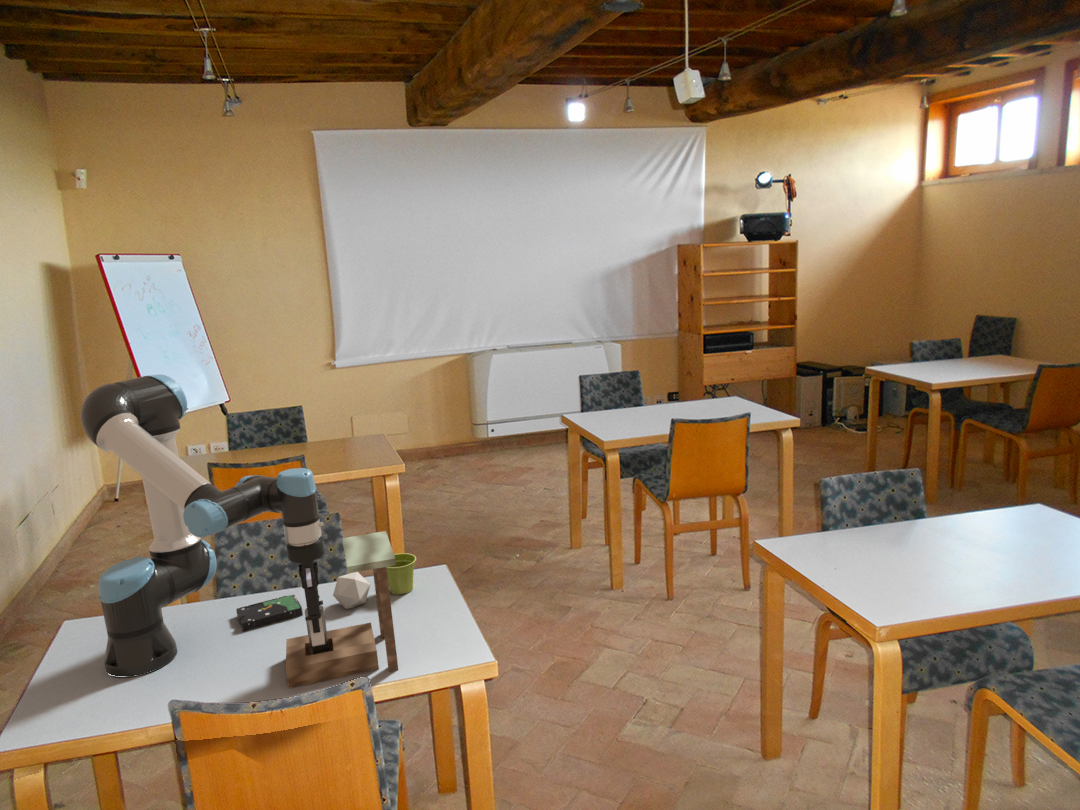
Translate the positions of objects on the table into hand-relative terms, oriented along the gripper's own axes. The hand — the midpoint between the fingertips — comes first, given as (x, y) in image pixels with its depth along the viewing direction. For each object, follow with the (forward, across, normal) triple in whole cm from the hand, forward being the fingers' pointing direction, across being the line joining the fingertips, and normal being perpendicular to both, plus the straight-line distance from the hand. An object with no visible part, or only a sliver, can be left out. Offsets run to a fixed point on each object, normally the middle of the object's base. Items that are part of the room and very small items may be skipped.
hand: (318, 639), depth 173 cm
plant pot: (+7, +32, -22) cm, 39 cm away
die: (+7, +29, -9) cm, 31 cm away
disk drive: (+7, +32, +12) cm, 35 cm away
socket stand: (+6, 0, -5) cm, 8 cm away
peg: (+4, 0, 0) cm, 4 cm away
